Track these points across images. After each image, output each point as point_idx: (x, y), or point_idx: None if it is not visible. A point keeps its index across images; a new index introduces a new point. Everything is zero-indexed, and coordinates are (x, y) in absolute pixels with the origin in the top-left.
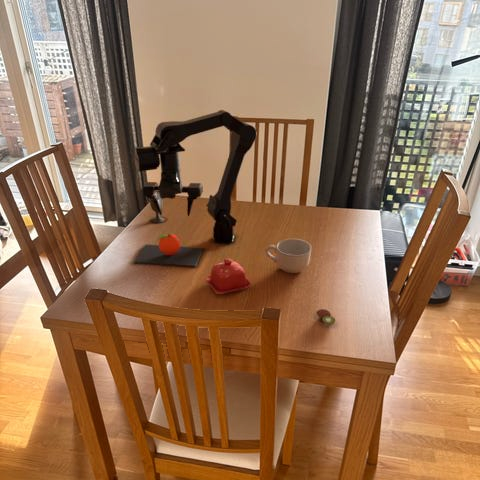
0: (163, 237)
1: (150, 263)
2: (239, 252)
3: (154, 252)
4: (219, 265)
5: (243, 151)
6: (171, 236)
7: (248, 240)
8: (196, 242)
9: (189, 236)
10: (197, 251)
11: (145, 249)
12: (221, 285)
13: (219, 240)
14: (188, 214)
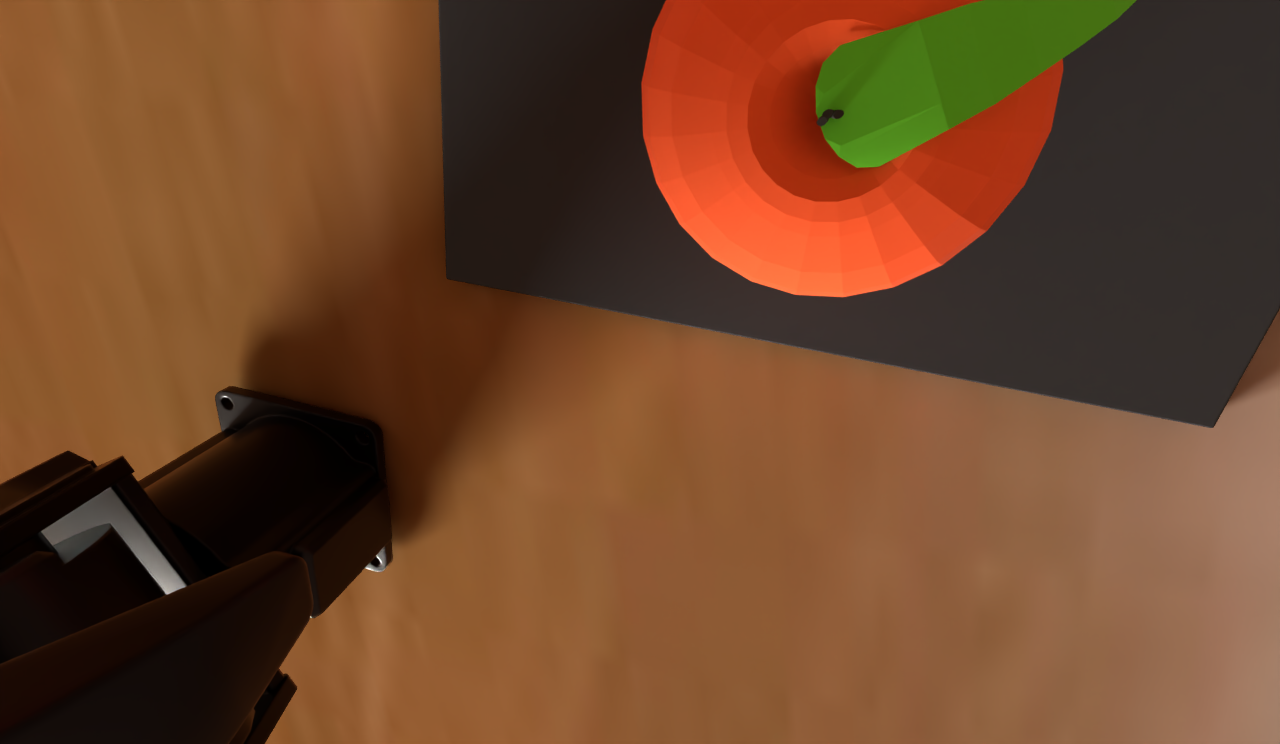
0: (964, 47)
1: None
2: (109, 186)
3: (1095, 165)
4: None
5: None
6: (760, 66)
7: (130, 429)
8: (552, 446)
9: (642, 583)
10: (488, 187)
11: (1246, 275)
12: None
13: (328, 434)
14: (246, 573)
